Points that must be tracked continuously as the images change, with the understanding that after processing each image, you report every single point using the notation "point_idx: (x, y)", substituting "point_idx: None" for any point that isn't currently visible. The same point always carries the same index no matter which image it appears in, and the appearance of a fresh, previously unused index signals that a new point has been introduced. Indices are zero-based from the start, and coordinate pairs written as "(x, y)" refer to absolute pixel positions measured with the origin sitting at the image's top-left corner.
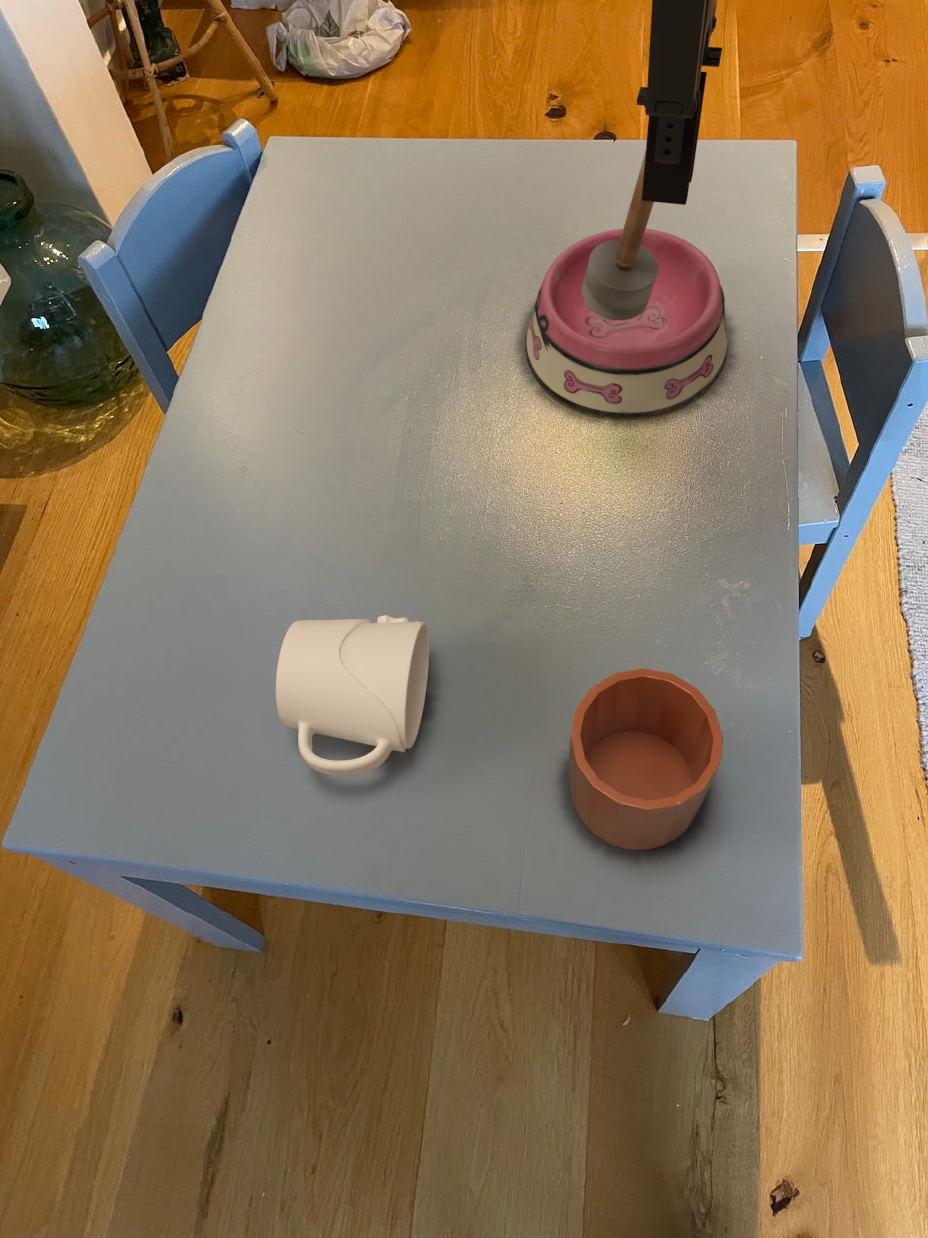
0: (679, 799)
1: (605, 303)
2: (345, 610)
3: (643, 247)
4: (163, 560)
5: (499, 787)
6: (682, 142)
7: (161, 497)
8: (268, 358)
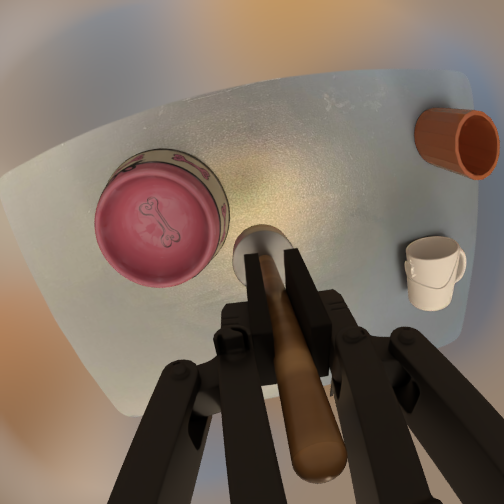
0: (495, 128)
1: None
2: (381, 289)
3: (235, 252)
4: None
5: (446, 194)
6: (323, 302)
7: None
8: None
